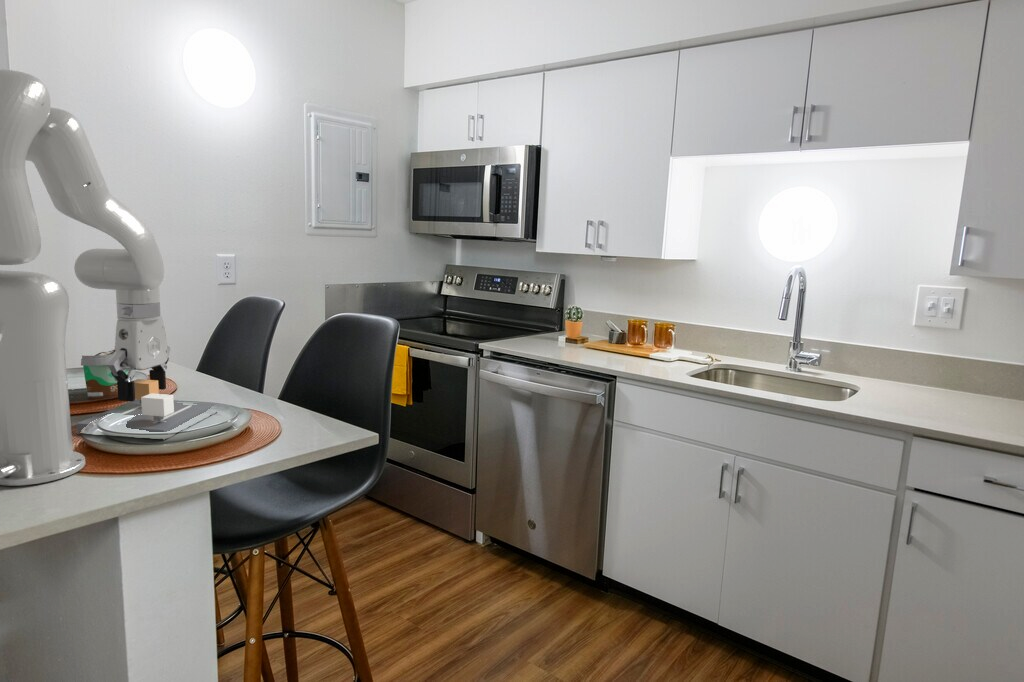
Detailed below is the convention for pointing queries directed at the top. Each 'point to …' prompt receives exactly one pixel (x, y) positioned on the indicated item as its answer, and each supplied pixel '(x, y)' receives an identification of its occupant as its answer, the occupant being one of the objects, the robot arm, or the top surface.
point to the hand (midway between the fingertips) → (143, 394)
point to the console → (146, 421)
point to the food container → (99, 376)
